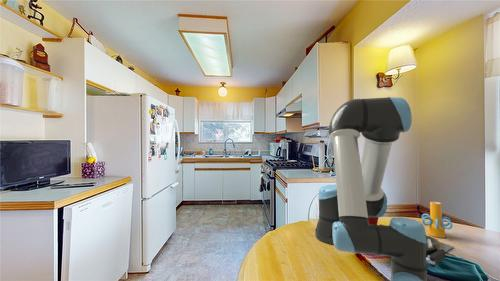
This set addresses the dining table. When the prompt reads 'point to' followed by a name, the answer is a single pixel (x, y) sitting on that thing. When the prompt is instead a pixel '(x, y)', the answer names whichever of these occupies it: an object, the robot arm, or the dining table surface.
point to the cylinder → (436, 221)
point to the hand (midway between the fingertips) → (405, 238)
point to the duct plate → (438, 244)
